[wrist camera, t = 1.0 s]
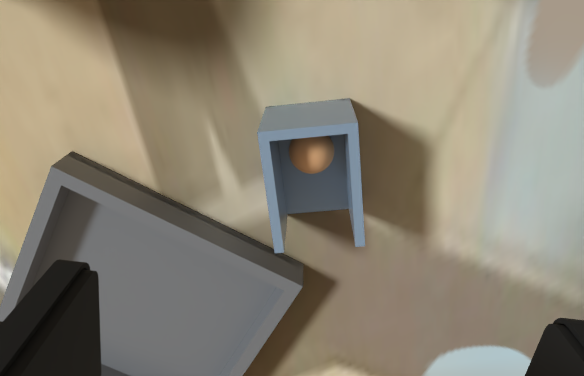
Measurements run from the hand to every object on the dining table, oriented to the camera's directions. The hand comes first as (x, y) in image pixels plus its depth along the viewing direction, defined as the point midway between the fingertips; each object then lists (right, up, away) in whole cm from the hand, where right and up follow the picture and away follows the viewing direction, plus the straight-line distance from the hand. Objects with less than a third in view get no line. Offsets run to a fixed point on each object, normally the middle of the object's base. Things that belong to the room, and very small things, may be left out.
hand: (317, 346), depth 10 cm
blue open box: (+1, +6, +24) cm, 25 cm away
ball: (+1, +6, +22) cm, 22 cm away
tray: (-12, -6, +29) cm, 32 cm away
